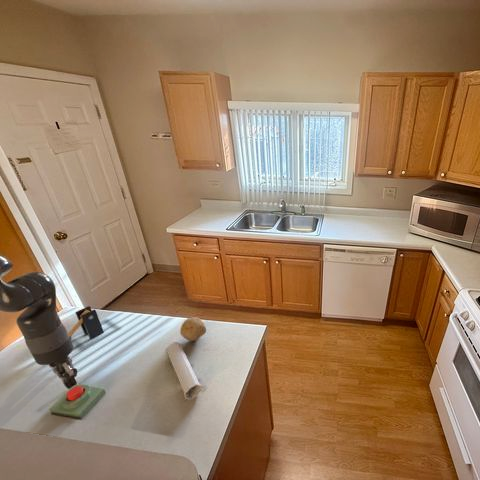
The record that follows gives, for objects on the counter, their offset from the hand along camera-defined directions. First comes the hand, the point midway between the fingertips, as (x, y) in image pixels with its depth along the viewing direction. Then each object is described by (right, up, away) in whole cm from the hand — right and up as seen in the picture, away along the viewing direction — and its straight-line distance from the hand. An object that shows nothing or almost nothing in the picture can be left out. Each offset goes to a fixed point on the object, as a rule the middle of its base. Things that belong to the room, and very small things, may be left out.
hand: (71, 385), depth 75 cm
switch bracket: (-17, +4, +27) cm, 33 cm away
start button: (0, -4, +2) cm, 4 cm away
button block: (-1, -7, +3) cm, 8 cm away
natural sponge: (+22, +3, +29) cm, 37 cm away
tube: (+25, -4, +15) cm, 30 cm away
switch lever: (-18, +9, +22) cm, 30 cm away
